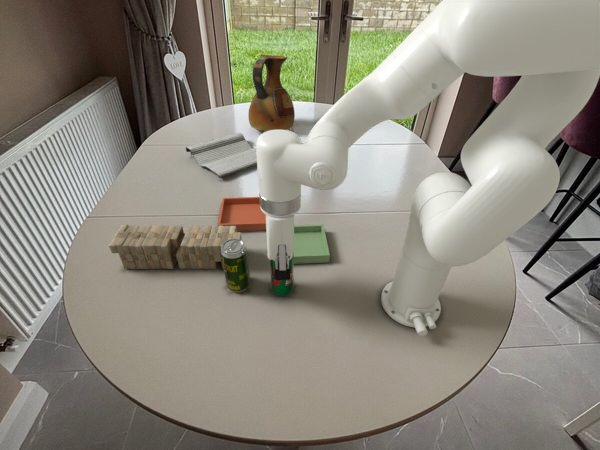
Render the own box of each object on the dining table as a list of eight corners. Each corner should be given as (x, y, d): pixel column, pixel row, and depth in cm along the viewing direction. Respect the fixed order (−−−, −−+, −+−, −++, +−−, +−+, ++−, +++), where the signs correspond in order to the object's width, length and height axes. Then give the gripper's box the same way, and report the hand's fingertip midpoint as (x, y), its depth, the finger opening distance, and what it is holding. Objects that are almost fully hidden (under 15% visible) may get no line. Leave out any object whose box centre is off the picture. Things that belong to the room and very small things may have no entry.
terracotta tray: (267, 230, 93) (266, 223, 91) (218, 232, 92) (217, 225, 90) (266, 203, 103) (266, 196, 101) (223, 204, 102) (222, 197, 100)
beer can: (233, 273, 80) (228, 235, 72) (254, 279, 78) (250, 241, 71) (222, 289, 76) (214, 251, 68) (243, 296, 74) (238, 257, 67)
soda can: (290, 299, 74) (290, 261, 66) (268, 295, 75) (266, 257, 67) (295, 282, 78) (296, 244, 70) (274, 279, 78) (272, 241, 71)
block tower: (244, 250, 87) (130, 247, 86) (242, 225, 82) (121, 221, 81) (240, 272, 81) (118, 269, 80) (238, 247, 76) (107, 243, 74)
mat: (219, 182, 112) (218, 170, 109) (187, 157, 125) (184, 146, 122) (274, 161, 124) (273, 150, 121) (239, 141, 138) (238, 130, 135)
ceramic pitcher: (302, 127, 150) (304, 54, 132) (277, 142, 137) (275, 64, 118) (267, 117, 158) (264, 47, 140) (240, 131, 145) (233, 56, 126)
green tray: (329, 262, 83) (330, 255, 82) (280, 264, 82) (280, 257, 81) (322, 231, 93) (323, 224, 91) (279, 232, 92) (278, 225, 90)
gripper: (260, 176, 67) (264, 243, 78) (258, 229, 54) (264, 301, 65) (297, 175, 68) (296, 242, 79) (305, 228, 54) (302, 299, 66)
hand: (281, 268), depth 72 cm, fingers closed on soda can, 5 cm apart
